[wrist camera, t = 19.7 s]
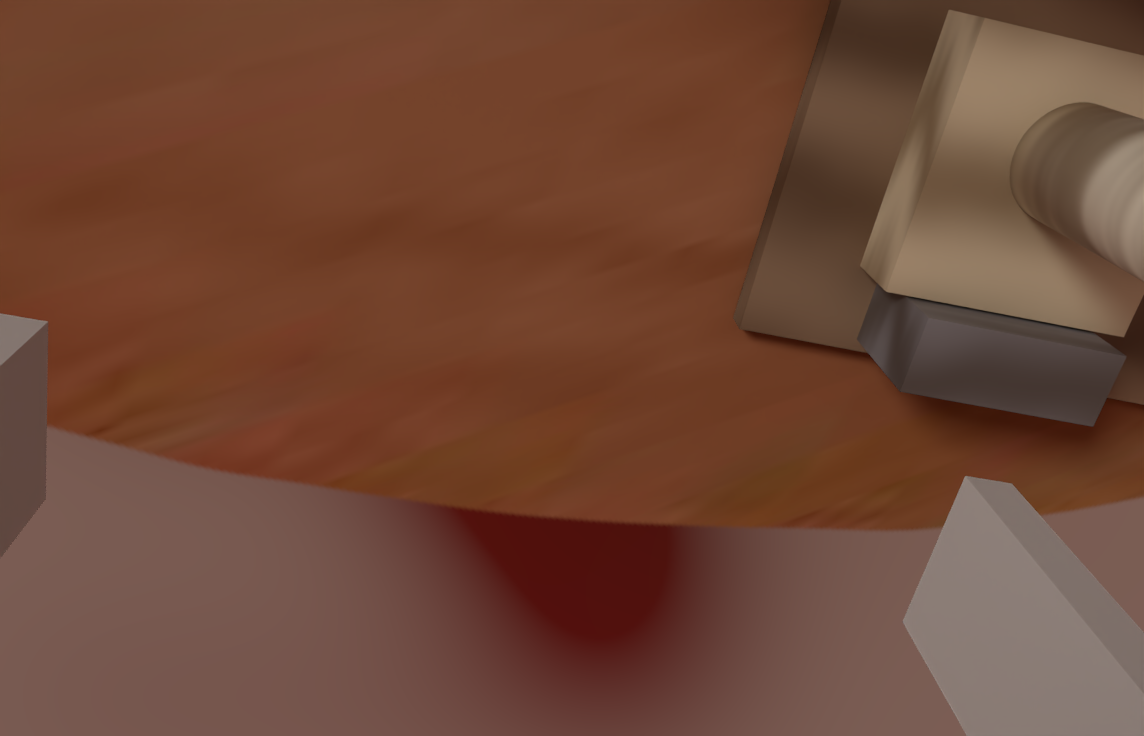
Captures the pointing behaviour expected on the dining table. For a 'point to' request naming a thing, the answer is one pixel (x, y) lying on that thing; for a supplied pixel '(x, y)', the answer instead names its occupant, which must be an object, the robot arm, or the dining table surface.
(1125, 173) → the dowel
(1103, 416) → the dining table surface
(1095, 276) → the thin beige square tile
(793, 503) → the dining table surface
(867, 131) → the board
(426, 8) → the dining table surface
